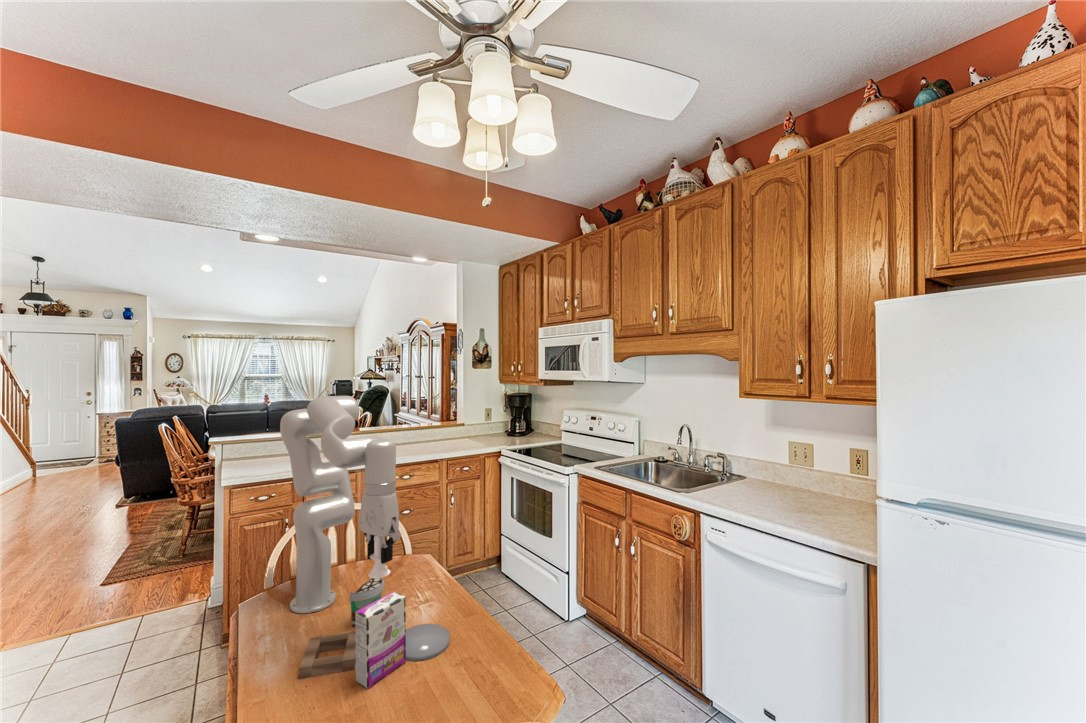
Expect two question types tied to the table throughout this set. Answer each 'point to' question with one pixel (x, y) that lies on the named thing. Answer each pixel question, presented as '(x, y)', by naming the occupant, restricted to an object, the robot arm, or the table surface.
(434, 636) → the slate plate
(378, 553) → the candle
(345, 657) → the walnut socket
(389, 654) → the candy bar box
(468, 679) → the table surface
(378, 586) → the food container
